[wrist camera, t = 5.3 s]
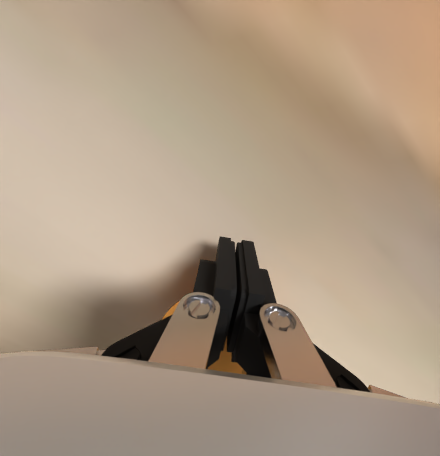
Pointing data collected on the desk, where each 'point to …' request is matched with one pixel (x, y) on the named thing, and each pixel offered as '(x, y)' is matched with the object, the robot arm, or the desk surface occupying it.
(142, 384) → the robot arm
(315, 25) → the desk surface
